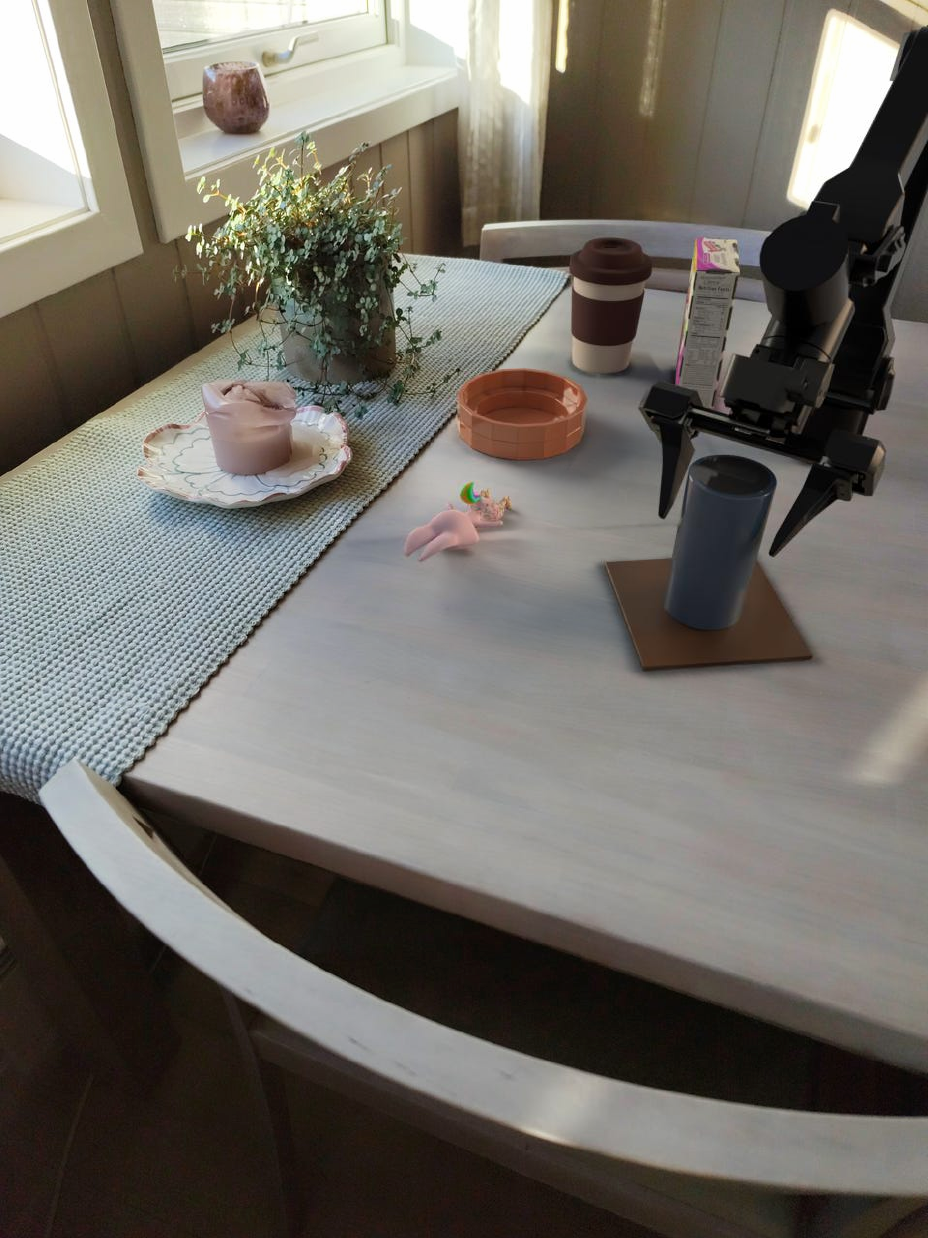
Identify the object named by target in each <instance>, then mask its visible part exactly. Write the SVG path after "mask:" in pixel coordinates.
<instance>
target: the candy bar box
mask: <svg viewBox="0 0 928 1238" xmlns="http://www.w3.org/2000/svg"><path fill="white" fill-rule="evenodd" d="M738 247H739V246H738V240H737V239H733V238H732V239H730V238H720V237H711V238H710V237H705V236H703V237H695V242H694V249H693V254H692V261H691V266H690V272H689V273H690V274H689V280H688V286H687V292H686V299H685V305H684V311H683V318H682V324H681V331H680V337H679V345H678V350H677V351H678V352H677V357H676V358H677V359H676V365H675V382H674V383H675V384H674V385H677V386H681V387H685V388H688V389H692V390H696V391H697V392H698V394H699V397H700V399H701V402H702V404H703V407H704V408H708V409H711V410H714V408H715V403H716V398H717V392H718V387H719V384H720V383H719V382H720V377H721V372H722V367H723V362H724V357H725V350H726V345H727V341H728V336H729V330H730V326H731V318H732V314H733V311H734V309H733V308H734V303H735V298H736V292H737V287H738V282H739V278H740V273H741V272H740V259H739V258H740V257H739V248H738Z"/></svg>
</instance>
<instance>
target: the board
mask: <svg viewBox="0 0 928 1238" xmlns="http://www.w3.org/2000/svg"><path fill="white" fill-rule="evenodd" d="M671 559H672V557H670V558H669V557H668V558H653V559H651V558H650V559H637V560H636V559H635V560H618V561H605V562H604V568H605V571H606V574H607V577H608V580H609V582H610V585H611V587H612V588H611V589H612V590H613V594H614V596H615V599H616V601H617V604H618V607H619V610H620V612H621V615H622V617H623V621H624V624H625V626H626V628H627V631H628V634H629V637H630V640H631V643H632V645H633V648H634V651H635V653H636V656H637V658H638V661H639V664H640V667H641V670H642V671H643V672H645V671H646V672H647V671H663V670H676V669H678V670H679V669H689V668H691V669H692V668H707V667H721V666H722V667H723V666H735V665H738V666H739V665H752V664H764V663H765V664H766V663H781V662H795V661H810V660H813V657H814V654H813V653H812V651H811V649H810V647H809V646H808V644H807V642H806V641H805V639H804V637H803V635H802V634H801V632H800V630H799V629H798V627H797V626H796V623H795V622H794V620H793V619H792V616H790V614H789V612H788V610H787V609H786V607H785V605H784V604H783V602H782V600H781V598H780V597H779V595H778V594H777V592H776V590H775V589H774V587H773V584H772V583H771V582H770V580H769V578H768V576H767V574H766V573H765V571H764V569H763V568H762V567H761V565H760V563H759V561H758V559H756V563H755V567H754V570H753V574H752V578H751V581H750V585H749V589H748V592H747V596H746V600H745V603H744V607H743V611H742V614H741V617H740V619H739V620H738V621H737V622H736V623H735V624H733V625H732V626H730V627H728V628H725V629H721V630H700V629H695V628H692V627H689V626H686V625H684V624H682V623H680V622H678V621H677V620H676V619H674V618H673V617H672V616H671V615H670V614H669V613H668V612H667V610H666V608H665V605H664V595H665V590H666V585H667V580H668V575H669V569H670V564H671Z"/></svg>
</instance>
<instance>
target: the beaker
mask: <svg viewBox="0 0 928 1238" xmlns="http://www.w3.org/2000/svg"><path fill="white" fill-rule="evenodd" d="M687 472H688V473H687V477H686V482H685V488H684V493H683V498H682V502H681V508H680V514H679V520H678V523H677V529H676V534H675V539H674V545H673V549H672V554H671V558H672V559H671V564H670V569H669V575H668V580H667V585H666V590H665V595H664V605H665V608H666V610H667V612H668V613H669V614H670V615H671V616H672V617H673V618H674V619H676V620H677V621H678V622H680V623H682V624H684V625H686V626H689V627H692V628H695V629H700V630H721V629H725V628H728V627H730V626H732V625H733V624H735V623H736V622H737V621H738V620H739V619H740V617H741V614H742V611H743V607H744V603H745V600H746V596H747V592H748V589H749V585H750V581H751V578H752V574H753V570H754V567H755V563H756V560H758V556H759V551H760V548H761V545H762V541H763V537H764V534H765V529H766V526H767V522H768V519H769V516H770V512H771V509H772V504H773V500H774V497H775V494H776V491H777V486H778V480H777V477H776V474H775V473H774V472H773V471H772V469H770V468H769V467H768V466H766V465H765V464H763V463H761V462H759V461H757V460H754V459H752V458H748V457H746V456H742V455H736V454H711V455H706V456H703V457H700V458H698V459H696V460H695V461H693V462H692V464H691V465H689V467H688V471H687Z"/></svg>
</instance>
